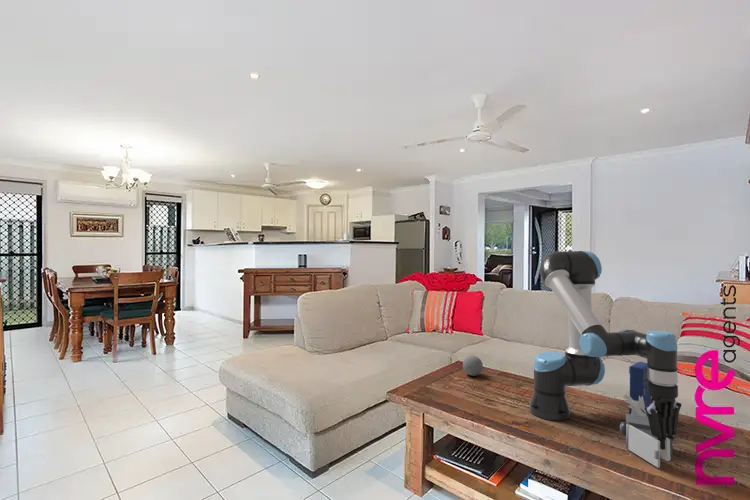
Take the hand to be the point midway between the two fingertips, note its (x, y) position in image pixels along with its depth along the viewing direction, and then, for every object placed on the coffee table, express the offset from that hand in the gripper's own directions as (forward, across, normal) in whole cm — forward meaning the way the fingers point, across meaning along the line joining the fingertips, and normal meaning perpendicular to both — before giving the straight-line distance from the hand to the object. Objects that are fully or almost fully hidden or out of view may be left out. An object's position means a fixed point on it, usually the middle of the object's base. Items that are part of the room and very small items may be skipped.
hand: (664, 458), depth 122 cm
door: (+1, +3, -5) cm, 6 cm away
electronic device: (+2, -26, -28) cm, 38 cm away
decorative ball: (0, +11, -90) cm, 90 cm away
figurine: (+2, -16, -22) cm, 27 cm away
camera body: (+2, -5, -9) cm, 10 cm away
